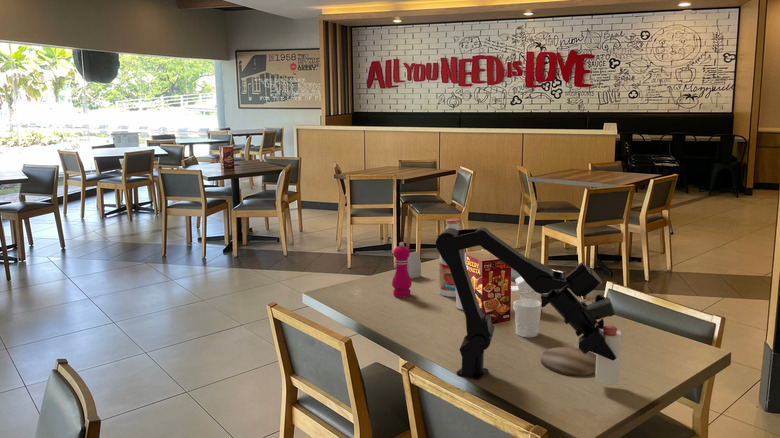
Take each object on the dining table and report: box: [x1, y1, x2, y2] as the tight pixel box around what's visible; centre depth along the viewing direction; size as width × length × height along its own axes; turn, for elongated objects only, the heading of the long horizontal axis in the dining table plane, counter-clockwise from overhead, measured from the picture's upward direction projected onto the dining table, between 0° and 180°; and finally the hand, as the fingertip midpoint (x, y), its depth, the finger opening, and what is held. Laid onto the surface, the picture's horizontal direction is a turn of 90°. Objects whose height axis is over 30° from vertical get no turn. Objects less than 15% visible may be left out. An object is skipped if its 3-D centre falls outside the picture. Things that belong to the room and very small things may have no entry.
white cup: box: [514, 299, 542, 338], centre depth 191 cm, size 8×8×10 cm
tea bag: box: [407, 250, 422, 280], centre depth 252 cm, size 4×7×10 cm, turn 134°
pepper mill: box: [391, 241, 412, 298], centre depth 228 cm, size 7×7×20 cm
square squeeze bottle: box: [594, 324, 623, 386], centre depth 154 cm, size 5×5×14 cm
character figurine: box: [510, 275, 541, 311], centre depth 212 cm, size 9×10×12 cm
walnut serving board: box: [540, 346, 597, 377], centre depth 170 cm, size 16×16×1 cm
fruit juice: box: [438, 217, 466, 298], centre depth 228 cm, size 9×9×28 cm
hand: (614, 354), depth 154 cm, fingers closed on square squeeze bottle, 5 cm apart
